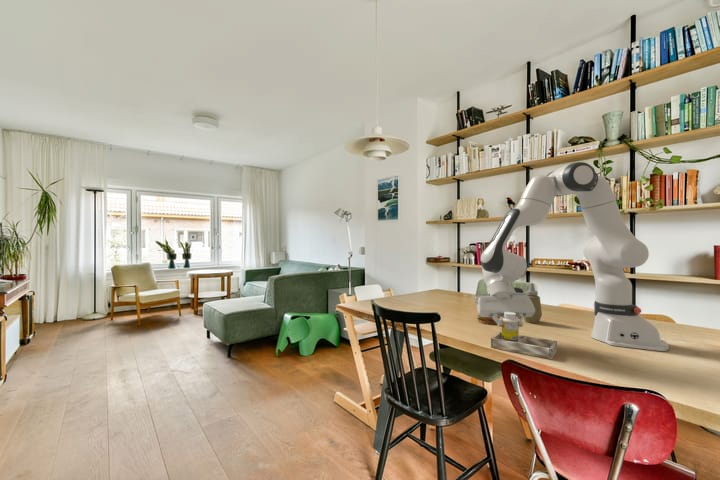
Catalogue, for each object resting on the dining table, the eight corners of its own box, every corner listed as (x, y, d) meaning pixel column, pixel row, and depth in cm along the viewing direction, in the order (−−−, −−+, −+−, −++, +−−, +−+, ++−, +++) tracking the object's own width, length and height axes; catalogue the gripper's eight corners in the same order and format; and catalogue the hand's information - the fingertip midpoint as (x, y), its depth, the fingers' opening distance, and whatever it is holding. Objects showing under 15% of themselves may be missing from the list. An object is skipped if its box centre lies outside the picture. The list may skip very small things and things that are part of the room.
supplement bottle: (504, 337, 121) (504, 310, 121) (520, 340, 118) (520, 312, 118) (499, 341, 117) (499, 313, 117) (516, 344, 114) (516, 315, 114)
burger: (504, 324, 148) (504, 313, 148) (487, 326, 145) (487, 315, 145) (489, 318, 157) (489, 309, 157) (473, 320, 155) (473, 311, 155)
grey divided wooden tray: (556, 350, 113) (556, 341, 113) (552, 359, 105) (552, 349, 105) (499, 340, 125) (499, 331, 125) (490, 347, 117) (490, 338, 117)
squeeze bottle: (545, 324, 147) (545, 284, 146) (527, 324, 147) (527, 284, 147) (536, 319, 155) (536, 282, 155) (519, 319, 155) (519, 282, 155)
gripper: (475, 289, 125) (483, 321, 115) (529, 289, 124) (542, 321, 114) (472, 298, 129) (479, 330, 120) (524, 298, 128) (536, 330, 118)
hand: (510, 326), depth 117 cm, fingers closed on supplement bottle, 5 cm apart
